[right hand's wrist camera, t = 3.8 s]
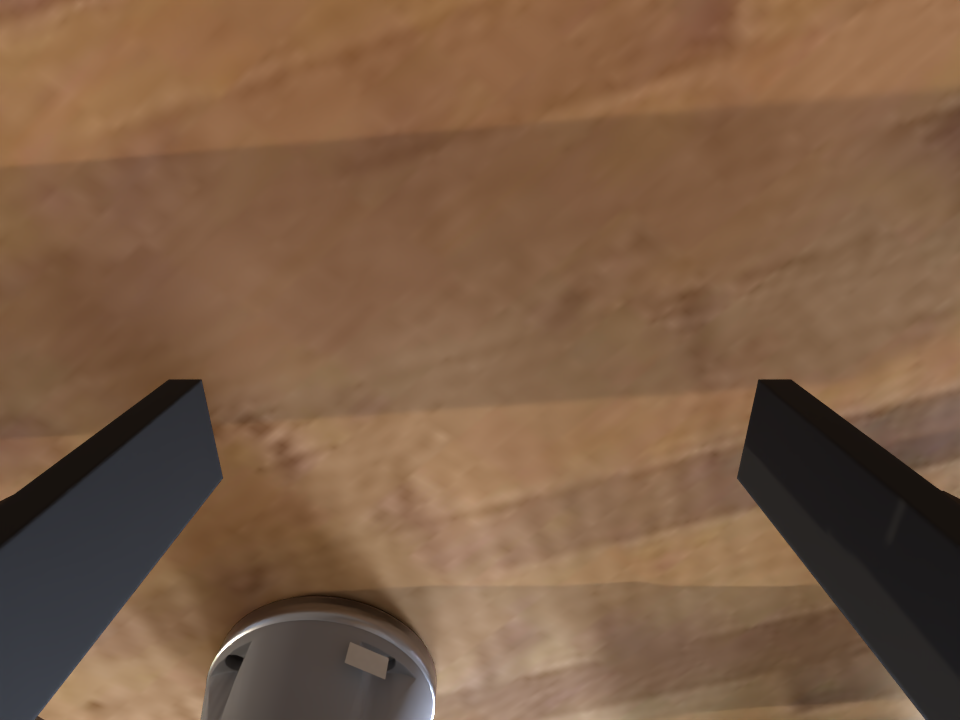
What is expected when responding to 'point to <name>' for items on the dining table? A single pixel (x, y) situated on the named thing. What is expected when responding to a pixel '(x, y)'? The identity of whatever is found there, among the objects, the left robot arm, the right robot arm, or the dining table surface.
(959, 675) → the right robot arm
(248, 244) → the dining table surface
